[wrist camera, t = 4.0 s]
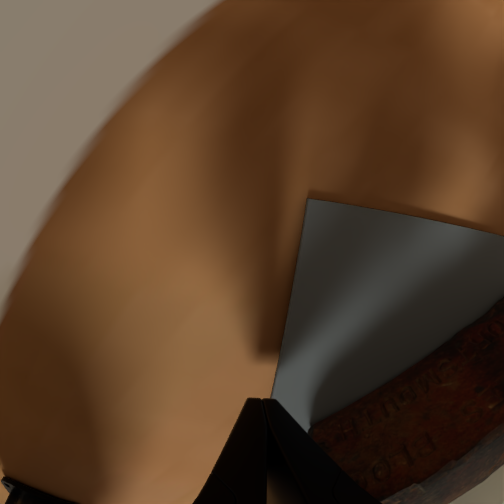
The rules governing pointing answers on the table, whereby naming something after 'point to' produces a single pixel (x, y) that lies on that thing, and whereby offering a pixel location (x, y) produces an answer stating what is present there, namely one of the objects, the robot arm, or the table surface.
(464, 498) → the block
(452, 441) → the brick
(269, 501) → the robot arm
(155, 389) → the table surface
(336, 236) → the grey mat
